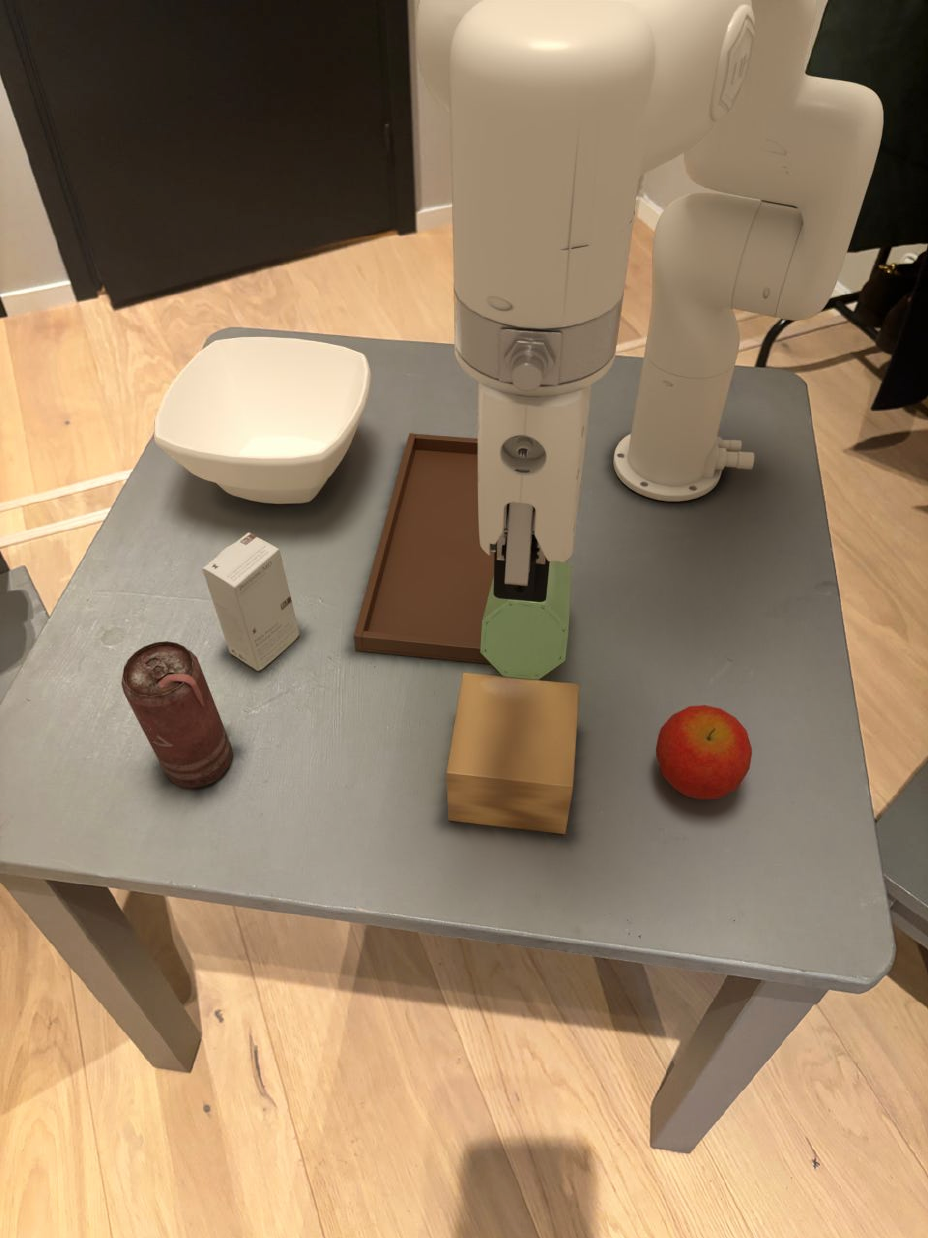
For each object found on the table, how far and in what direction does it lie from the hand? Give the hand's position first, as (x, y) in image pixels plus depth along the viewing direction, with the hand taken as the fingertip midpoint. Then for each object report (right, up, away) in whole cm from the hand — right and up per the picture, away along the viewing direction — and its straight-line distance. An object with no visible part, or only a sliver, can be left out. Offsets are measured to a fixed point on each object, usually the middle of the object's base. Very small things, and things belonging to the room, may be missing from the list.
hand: (520, 590), depth 55 cm
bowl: (-25, +15, +51) cm, 59 cm away
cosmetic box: (-23, -4, +35) cm, 42 cm away
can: (-27, -15, +26) cm, 41 cm away
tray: (-3, +6, +43) cm, 44 cm away
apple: (+17, -16, +25) cm, 34 cm away
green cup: (+2, -4, +20) cm, 21 cm away
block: (+1, -16, +25) cm, 29 cm away
